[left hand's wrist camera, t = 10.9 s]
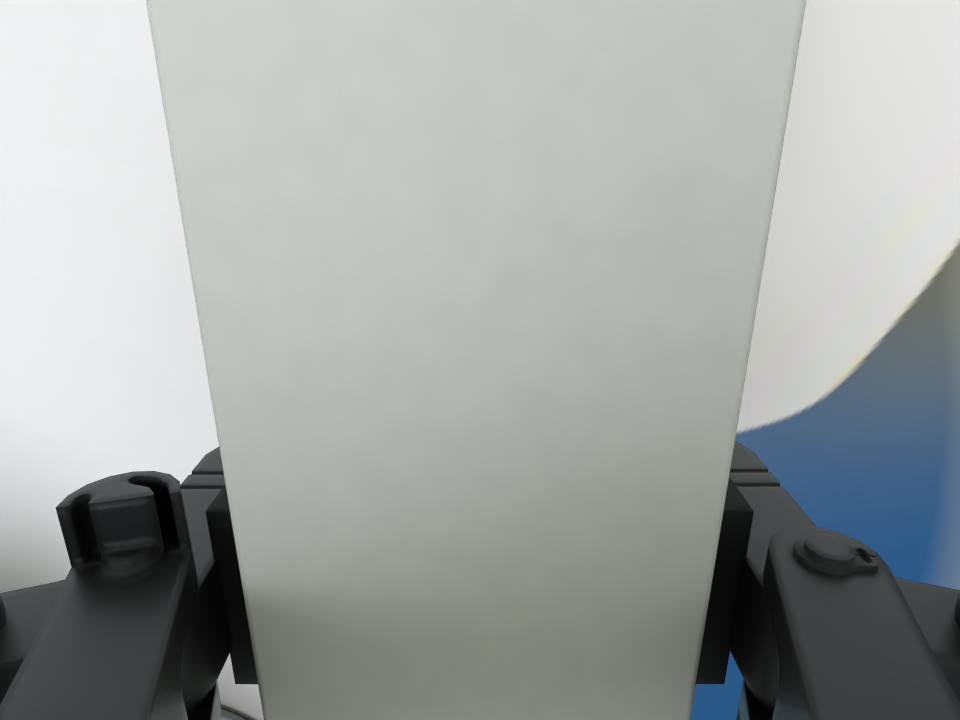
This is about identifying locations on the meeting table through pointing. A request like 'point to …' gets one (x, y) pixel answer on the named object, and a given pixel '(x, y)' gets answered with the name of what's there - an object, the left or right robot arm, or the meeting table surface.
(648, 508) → the bar
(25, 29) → the meeting table surface
